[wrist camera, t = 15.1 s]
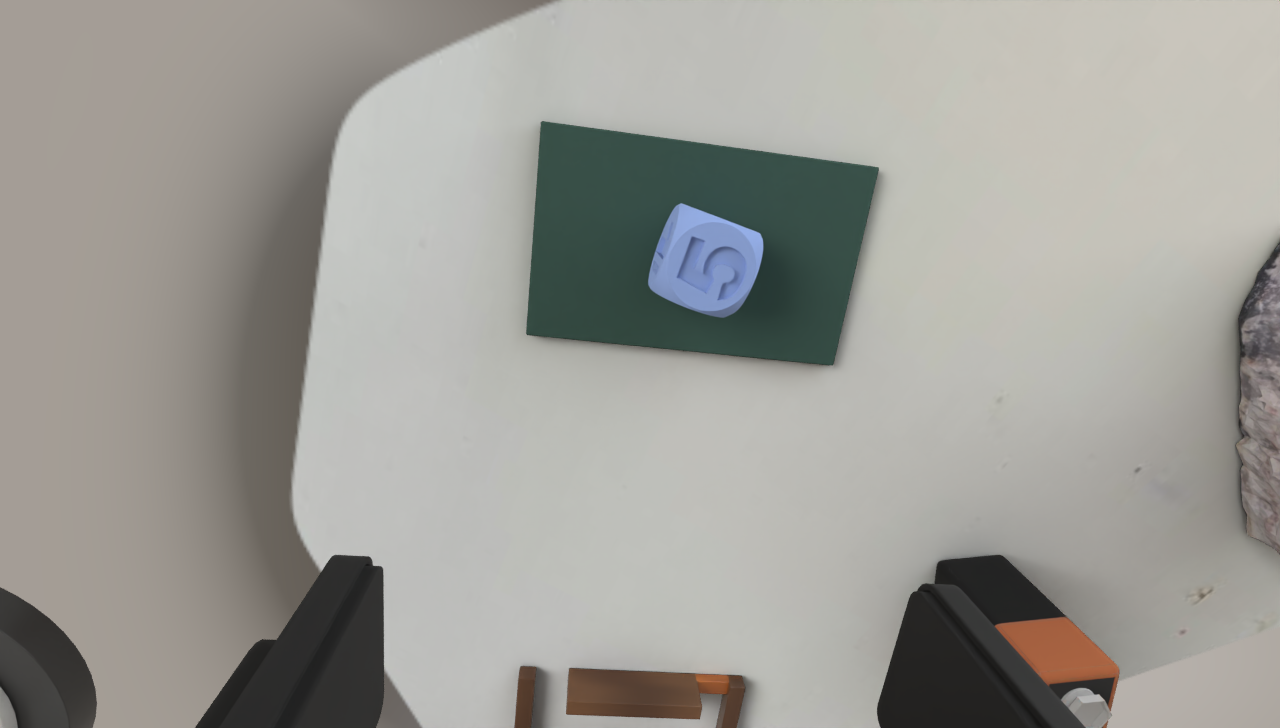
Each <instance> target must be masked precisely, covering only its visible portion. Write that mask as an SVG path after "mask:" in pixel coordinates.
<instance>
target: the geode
mask: <svg viewBox="0 0 1280 728" xmlns="http://www.w3.org/2000/svg"><path fill="white" fill-rule="evenodd" d="M1239 332H1240V346H1241V359H1240V377H1241V402H1240V405H1239V415H1240V416H1239V427H1240V429H1241V431H1242V433H1243V435H1244V438H1243V439H1242V440H1240V441H1239V442H1238V443H1237V444H1236V447H1237V450H1238V452H1239V455H1240V458H1241V460H1242V462H1243V466H1242V468H1241V469H1240V474H1241V480H1242V483H1241V493H1242V502H1243V507H1244V509H1245V511H1246V513H1247V524H1246V529H1247V533H1248V536H1250V537H1253V538H1256V539H1258V540H1260V541H1262V542H1263V543H1265V544H1267V545H1269V546H1270V547H1272V548H1273V549H1275V550H1276V551H1277V552H1278V553H1279V554H1280V243H1279V244H1278V246H1277V247H1276V249H1275V250H1274V252H1273V254H1272V255H1271V257H1270V258H1269V260H1268V261H1267V262H1266V264H1265V265H1264V266H1263V267H1262V269H1261V270H1260V271H1259V272H1258V275H1257V279H1256V282H1255V285H1254V287H1253V289H1252V290H1251V292H1250V293H1249V295H1248V297H1247V298H1246V300H1245V302H1244V305H1243V308H1242V310H1241V313H1240V316H1239Z"/></svg>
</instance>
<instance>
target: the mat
mask: <svg viewBox="0 0 1280 728" xmlns="http://www.w3.org/2000/svg"><path fill="white" fill-rule="evenodd" d="M878 170H879V168H878V167H872V166H865V165H858V164H850V163H843V162H836V161H828V160H821V159H814V158H806V157H799V156H792V155H785V154H777V153H770V152H763V151H755V150H748V149H741V148H734V147H726V146H719V145H712V144H704V143H697V142H690V141H683V140H675V139H668V138H661V137H653V136H646V135H639V134H631V133H624V132H617V131H610V130H602V129H595V128H588V127H580V126H573V125H566V124H559V123H551V122H544V121H542V122H541V131H540V145H539V159H538V173H537V188H536V202H535V216H534V231H533V245H532V259H531V273H530V288H529V302H528V316H527V330H526V334H527V335H533V336H543V337H553V338H563V339H573V340H583V341H593V342H603V343H613V344H623V345H633V346H643V347H653V348H663V349H673V350H683V351H693V352H702V353H712V354H722V355H732V356H742V357H752V358H762V359H772V360H782V361H792V362H802V363H812V364H822V365H833V364H834V359H835V355H836V351H837V347H838V342H839V338H840V334H841V329H842V325H843V321H844V316H845V312H846V308H847V304H848V299H849V295H850V291H851V286H852V282H853V278H854V273H855V269H856V265H857V260H858V256H859V252H860V248H861V243H862V239H863V235H864V230H865V226H866V222H867V217H868V213H869V209H870V204H871V200H872V196H873V192H874V187H875V183H876V179H877V174H878ZM681 203H682V204H684V205H687V206H690V207H693V208H695V209H698V210H701V211H703V212H706V213H709V214H711V215H714V216H717V217H719V218H722V219H725V220H727V221H730V222H732V223H735V224H738V225H740V226H743V227H745V228H748V229H751V230H753V231H756V232H758V233H760V234H761V237H762V239H763V254H762V260H761V264H760V267H759V271H758V274H757V276H756V279H755V281H754V284H753V286H752V288H751V290H750V292H749V294H748V296H747V298H746V300H745V301H744V303H743V304H742V306H741V307H740V308H739V309H738V310H737V311H736V312H735V313H733V314H731V315H729V316H727V317H724V318H721V317H715V316H710V315H707V314H703V313H700V312H697V311H694V310H691V309H688V308H686V307H683V306H681V305H678V304H676V303H674V302H672V301H669V300H667V299H665V298H663V297H661V296H660V295H658V294H656V293H655V292H653V291H652V290H651V289H650V287H649V285H648V279H649V273H650V268H651V264H652V261H653V257H654V254H655V251H656V248H657V245H658V242H659V240H660V237H661V234H662V232H663V229H664V227H665V225H666V222H667V220H668V218H669V216H670V214H671V213H672V211H673V209H674V208H675V207H676V206H677V205H679V204H681Z"/></svg>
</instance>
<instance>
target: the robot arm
mask: <svg viewBox="0 0 1280 728" xmlns="http://www.w3.org/2000/svg"><path fill="white" fill-rule="evenodd" d="M383 698H384V603H383V568H382V567H381V566H373V564H372V559H371V558H370V557H366V556H346V555H334V556H332V557H331V559H330V560H329V561H328V563H327V564H326V566H325V567H324V569H323V570H322V572H321V573H320V575H319V576H318V578H317V580H316V581H315V582H314V584H313V586H312V587H311V589H310V590H309V592H308V593H307V595H306V596H305V598H304V599H303V601H302V602H301V604H300V605H299V607H298V609H297V610H296V611H295V613H294V614H293V616H292V618H291V619H290V621H289V622H288V624H287V625H286V627H285V628H284V630H283V631H282V633H281V634H280V636H279V637H278V639H277V640H263V639H262V640H260V641H259V642H257V643H256V644H255V645H254V646H253V647H252V648H251V649H250V650H249V651H248V653H247V655H246V656H245V657H244V659H243V660H242V662H241V663H240V664H239V666H238V667H237V669H236V670H235V671H234V673H233V674H232V676H231V677H230V679H229V680H228V681H227V683H226V684H225V686H224V687H223V689H222V690H221V691H220V693H219V695H218V696H217V697H216V699H215V700H214V701H213V703H212V704H211V706H210V708H209V709H208V710H207V712H206V713H205V714H204V716H203V717H202V719H201V720H200V721H199V723H198V724H197V726H196V728H376V726H377V723H378V720H379V717H380V714H381V710H382V705H383ZM877 715H878V721H879V725H880V727H881V728H1086V727H1085V726H1084V725H1083V724H1082V723H1081V722H1080V721H1079V719H1078V718H1077V717H1076V716H1075V715H1074V714H1073V713H1072V712H1071V711H1070V709H1069V708H1068V707H1067V706H1066V705H1065V704H1064V703H1063V702H1062V701H1061V699H1060V698H1059V697H1058V696H1057V695H1056V694H1055V693H1054V692H1053V691H1052V689H1051V688H1050V687H1049V686H1048V685H1047V684H1046V683H1045V682H1044V681H1043V679H1042V678H1041V677H1040V676H1039V675H1038V674H1037V673H1036V672H1035V671H1034V669H1033V668H1032V667H1031V666H1030V665H1029V664H1028V663H1027V662H1026V661H1025V660H1024V658H1023V657H1022V656H1021V655H1020V654H1019V653H1018V652H1017V651H1016V650H1015V648H1014V647H1013V646H1012V645H1011V644H1010V643H1009V642H1008V641H1007V640H1006V638H1005V637H1004V636H1003V635H1002V634H1001V633H1000V632H999V631H998V630H997V628H996V627H995V626H994V625H993V624H992V623H991V622H990V621H989V620H988V618H987V617H986V616H985V615H984V614H983V613H982V612H981V611H980V610H979V608H978V607H977V606H976V605H975V604H974V603H973V602H972V601H971V600H970V598H969V597H968V596H967V595H966V594H965V593H964V592H963V591H962V590H961V589H960V588H959V587H958V586H955V585H944V584H923V585H921V586H920V587H919V589H918V591H916V592H913V593H912V594H911V596H910V598H909V601H908V604H907V608H906V611H905V614H904V618H903V621H902V624H901V628H900V631H899V635H898V638H897V641H896V645H895V648H894V651H893V655H892V658H891V662H890V665H889V668H888V672H887V675H886V679H885V682H884V685H883V689H882V692H881V695H880V699H879V702H878V707H877ZM0 728H18V726H17V720H16V714H15V711H14V709H13V707H12V704H11V702H10V700H9V698H8V696H7V695H6V694H5V692H4V691H3V689H2V688H1V687H0Z"/></svg>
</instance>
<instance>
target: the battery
mask: <svg viewBox="0 0 1280 728" xmlns="http://www.w3.org/2000/svg"><path fill="white" fill-rule="evenodd" d="M935 584H944V585H955V586H958V587H959V588H960V589H961V590H962V591H963V592H964V593H965V594H966V595H967V596H968V597H969V598H970V600H971V601H972V602H973V603H974V604H975V605H976V606H977V607H978V608H979V610H980V611H981V612H982V613H983V614H984V615H985V616H986V617H987V618H988V620H989V621H990V622H991V623H992V624H993V625H994V626H995V627H996V628H997V630H998V631H999V632H1000V633H1001V634H1002V635H1003V636H1004V637H1005V638H1006V640H1007V641H1008V642H1009V643H1010V644H1011V645H1012V646H1013V647H1014V648H1015V650H1016V651H1017V652H1018V653H1019V654H1020V655H1021V656H1022V657H1023V658H1024V660H1025V661H1026V662H1027V663H1028V664H1029V665H1030V666H1031V667H1032V668H1033V669H1034V671H1035V672H1036V673H1037V674H1038V675H1039V676H1040V677H1041V678H1042V679H1043V681H1044V682H1045V683H1046V684H1047V685H1048V686H1049V687H1050V688H1051V689H1052V691H1053V692H1054V693H1055V694H1056V695H1057V696H1058V697H1059V698H1060V699H1061V701H1062V702H1063V703H1064V704H1065V705H1066V706H1067V707H1068V708H1069V709H1070V711H1071V712H1072V713H1073V714H1074V715H1075V716H1076V717H1077V718H1078V719H1079V721H1080V722H1081V723H1082V724H1083V725H1084V726H1085V727H1086V728H1106V727H1107V723H1108V720H1109V719H1110V717H1111V716H1112V714H1111V712H1110V711H1111V707H1112V702H1113V699H1114V694H1115V691H1116V686H1117V682H1118V678H1119V668H1118V666H1117V665H1116V664H1115V663H1114V662H1113V661H1112V660H1111V659H1110V658H1109V657H1108V656H1107V655H1106V654H1105V653H1104V652H1103V651H1102V650H1101V649H1100V648H1099V647H1098V646H1097V645H1096V644H1094V643H1093V642H1092V641H1091V640H1090V639H1089V638H1088V637H1087V636H1086V635H1085V634H1084V633H1083V632H1082V631H1081V630H1080V629H1079V628H1078V627H1077V626H1076V625H1075V624H1074V623H1073V622H1071V621H1070V620H1069V619H1068V618H1067V617H1066V616H1065V615H1064V614H1063V613H1062V612H1061V611H1060V610H1059V609H1058V608H1057V607H1056V606H1055V605H1054V604H1053V603H1052V602H1051V601H1050V600H1048V599H1047V598H1046V597H1045V596H1044V595H1043V594H1042V593H1041V592H1040V591H1039V590H1038V589H1037V588H1036V587H1035V586H1034V585H1033V584H1032V583H1031V582H1030V581H1029V580H1028V579H1027V578H1026V577H1024V576H1023V575H1022V574H1021V573H1020V572H1019V571H1018V570H1017V569H1016V568H1015V567H1014V566H1013V565H1012V564H1011V563H1010V562H1009V561H1008V560H1007V559H1006V558H1004V557H1003V556H1001V555H994V556H983V557H973V558H962V559H952V560H943V561H940V562H938V564H937V568H936V576H935Z"/></svg>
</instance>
